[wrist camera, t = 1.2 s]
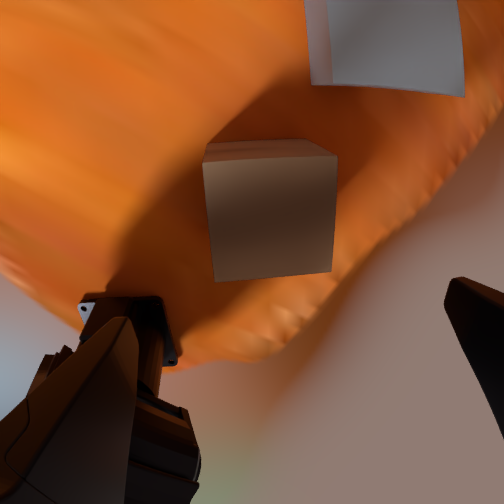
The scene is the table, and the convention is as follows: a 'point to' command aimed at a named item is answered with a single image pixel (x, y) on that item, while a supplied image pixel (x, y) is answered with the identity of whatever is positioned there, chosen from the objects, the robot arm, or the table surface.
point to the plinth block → (386, 44)
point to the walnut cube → (270, 208)
